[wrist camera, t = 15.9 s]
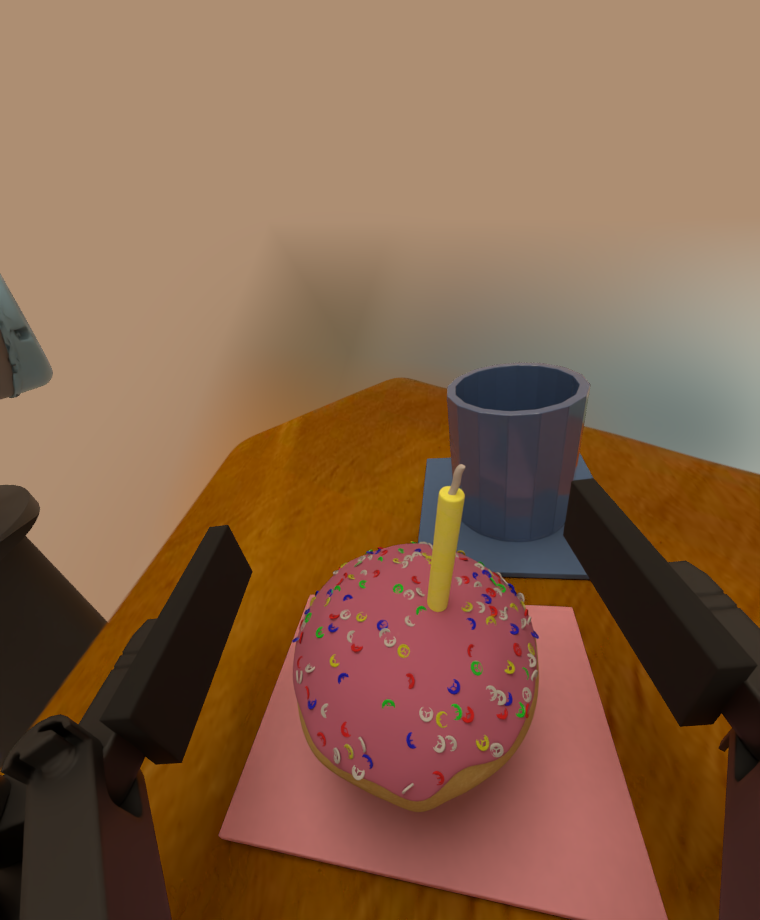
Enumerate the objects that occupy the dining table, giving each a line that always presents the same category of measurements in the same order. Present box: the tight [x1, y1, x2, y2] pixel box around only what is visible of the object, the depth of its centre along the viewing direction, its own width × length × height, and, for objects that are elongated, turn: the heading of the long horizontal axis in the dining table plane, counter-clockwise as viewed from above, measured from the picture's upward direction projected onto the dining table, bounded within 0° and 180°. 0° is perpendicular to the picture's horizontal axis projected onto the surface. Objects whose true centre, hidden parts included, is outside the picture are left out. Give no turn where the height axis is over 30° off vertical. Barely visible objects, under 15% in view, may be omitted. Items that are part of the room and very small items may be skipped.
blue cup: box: [447, 363, 590, 542], centre depth 22 cm, size 7×7×9 cm
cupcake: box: [292, 464, 539, 812], centre depth 12 cm, size 9×8×12 cm
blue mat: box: [418, 453, 593, 579], centre depth 25 cm, size 12×12×1 cm
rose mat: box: [219, 595, 668, 920], centre depth 15 cm, size 14×10×1 cm
